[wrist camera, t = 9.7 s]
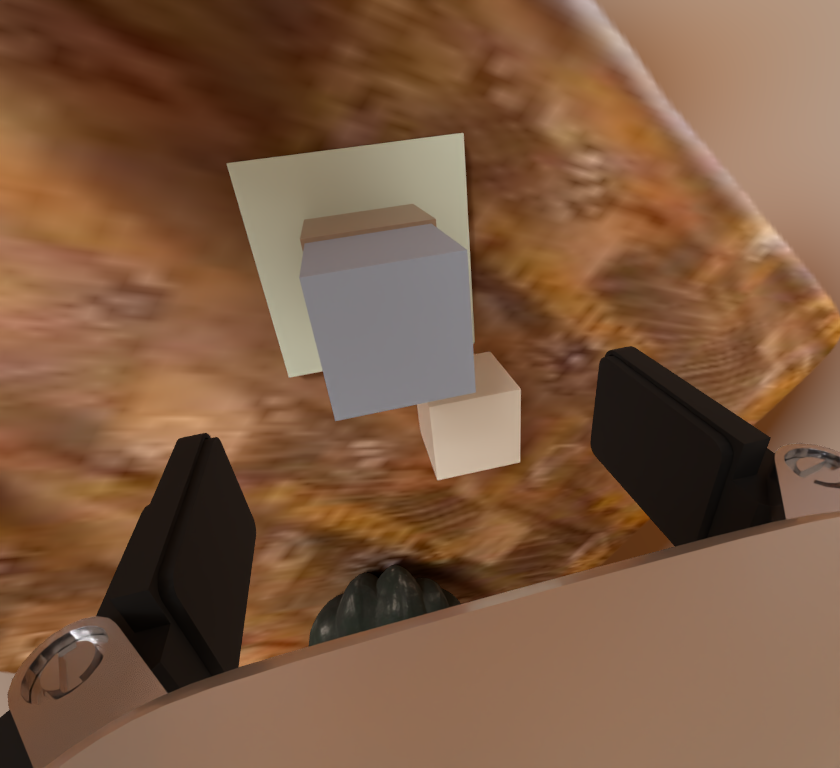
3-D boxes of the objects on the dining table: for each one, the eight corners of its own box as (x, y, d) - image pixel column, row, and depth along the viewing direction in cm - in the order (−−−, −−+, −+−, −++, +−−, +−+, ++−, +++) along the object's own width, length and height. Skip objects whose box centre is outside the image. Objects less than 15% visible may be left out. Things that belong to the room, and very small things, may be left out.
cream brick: (411, 365, 33) (429, 407, 28) (489, 351, 33) (521, 389, 28) (420, 431, 36) (437, 480, 31) (491, 416, 36) (520, 462, 31)
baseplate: (230, 162, 25) (199, 169, 18) (457, 133, 26) (501, 130, 20) (290, 369, 31) (282, 426, 25) (469, 336, 32) (505, 382, 26)
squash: (396, 723, 46) (489, 819, 33) (259, 695, 40) (308, 799, 27) (438, 580, 51) (533, 615, 38) (323, 537, 45) (389, 561, 32)
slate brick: (304, 243, 20) (298, 277, 15) (431, 223, 21) (467, 249, 16) (332, 359, 23) (335, 421, 18) (442, 338, 24) (475, 392, 19)
